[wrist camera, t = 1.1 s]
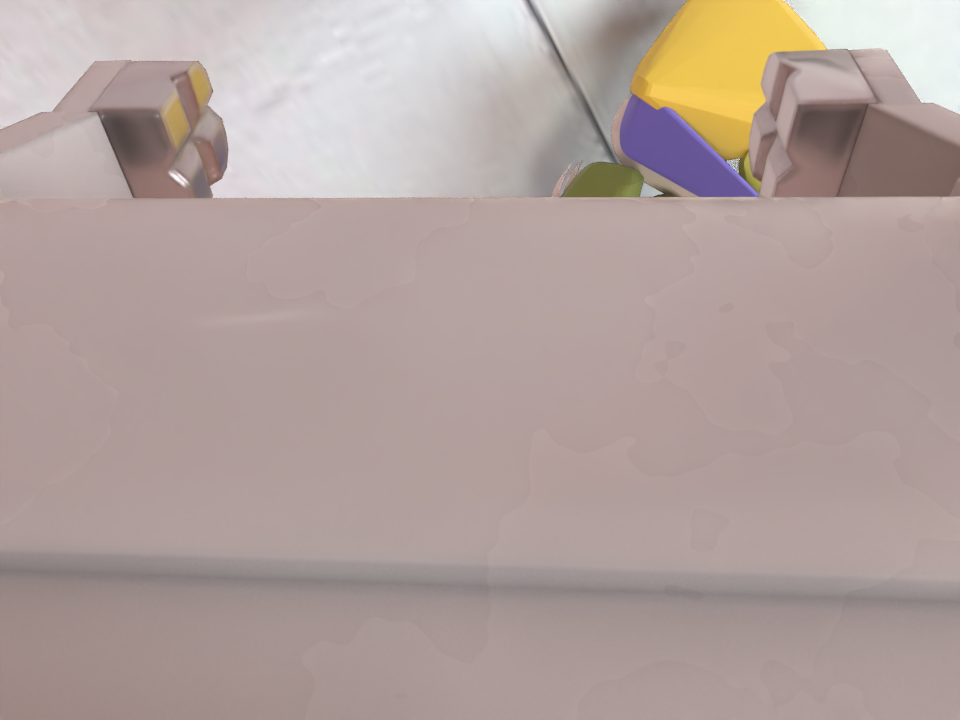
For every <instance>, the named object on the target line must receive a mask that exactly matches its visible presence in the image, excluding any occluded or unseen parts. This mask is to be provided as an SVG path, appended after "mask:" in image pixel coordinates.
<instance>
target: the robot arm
mask: <svg viewBox="0 0 960 720" xmlns="http://www.w3.org/2000/svg"><path fill="white" fill-rule="evenodd" d="M760 85H761V88H762V90H763V93H764V96H765V99H766V102H765V103H764V104H763V105H762V106H761V107H760V108H759V109H758V110H757V111H756V112H755V113H754V115H753V120H752V125H751V131H750V137H749V152H748V155H749V164H750V169H751V173H752V176H753V177H754V178H756V179H757V180H759V181H760V182H761V185H760V189H759V194H758V195H759V197H499V198H212V197H213V194H212V191H211V188H210V186H211V185H212V184H214V183H215V182H217V181H219V180H220V179H222V177H223V174H224V172H225V170H226V168H227V159H228V143H227V136H226V132H225V128H224V125H223V121H222V118H220V117H219V116H218V115H217V114H216V113H215V112H214V111H213V110H212V109H211V108H210V107H209V106H208V102H209V100H210V98H211V95H212V93H213V89H212V86H211V83H210V80H209V77H208V74H207V71H206V69H205V68H204V67H203V66H202V65H201V63H200V62H199V61H131V60H115V61H95V62H94V63H93V64H92V65H91V66H90V67H89V69H88V70H87V71H86V72H85V73H84V75H83V76H82V77H81V78H80V79H79V80H78V82H77V83H76V84H75V85H74V86H73V87H72V89H71V90H70V91H69V92H68V93H67V94H66V96H65V97H64V98H63V99H62V100H61V101H60V103H59V104H58V105H57V106H56V107H55V108H54V110H53V111H52V112H41V113H38V114H36V115H34V116H31V117H29V118H27V119H24V120H22V121H20V122H17V123H15V124H13V125H10V126H8V127H6V128H3V129H1V130H0V720H960V115H959V114H957V113H955V112H953V111H950V110H948V109H946V108H943V107H941V106H939V105H936V104H934V103H921V102H920V100H919V98H918V97H917V95H916V94H915V92H914V91H913V89H912V88H911V86H910V85H909V83H908V82H907V80H906V79H905V77H904V75H903V74H902V72H901V71H900V69H899V68H898V66H897V65H896V63H895V62H894V60H893V59H892V57H891V56H890V54H889V53H888V51H887V50H884V49H881V48H879V49H862V50H848V49H836V50H810V51H784V52H774V53H772V54H770V55H769V57H768V59H767V62H766V64H765V67H764V71H763V75H762V80H761V84H760Z"/></svg>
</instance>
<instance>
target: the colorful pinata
mask: <svg viewBox="0 0 960 720" xmlns="http://www.w3.org/2000/svg"><path fill="white" fill-rule="evenodd" d="M810 50H828V49H827V48H826V47H825V46H824V44H823V43H822V42H821V41H820V39H819V38H818V37H817V36H816V34H815V33H814V32H813V31H812V30H811V29H810V28H809V27H808V25H807V24H806V23H805V22H804V21H803V20H802V19H801V18H800V17H799V16H798V15H797V13H796V12H795V11H794V10H793V9H792V8H791V7H790V6H789V5H788V4H787V3H786V2H785V1H783V0H687V1H686V3H685V4H684V5H683V6H682V8H681V9H680V10H679V11H678V13H677V14H676V15H675V16H674V18H673V19H672V20H671V21H670V23H669V24H668V25H667V26H666V28H665V29H664V30H663V31H662V33H661V34H660V35H659V37H658V38H657V40H656V41H655V42H654V44H653V45H652V46H651V48H650V49H649V51H648V52H647V53H646V55H645V56H644V58H643V59H642V60H641V62H640V63H639V65H638V67H637V69H636V71H635V74H634V76H633V79H632V82H631V87H630V91H631V92H632V93H631V95H630V96H629V97H628V98H627V99H626V100H625V101H624V102H623V104H622V105H621V106H620V108H619V109H618V111H617V113H616V115H615V117H614V120H613V123H612V129H611V139H612V145H613V148H614V151H615V154H616V156H617V157H618V159H619V161H620V162H621V164H622V165H619V164H613V163H607V162H595V163H592V164H590V165H588V166H586V167H585V168H584V169H583V170H582V171H581V172H579V173H578V174H577V172H578V170H579V168H578V164H579V163H580V162H581V161H580V162H579V163H578V164H577V165H576V167H575V168H576V169H575V168H574V169H573V171H572V172H571V174H570V176H569V178H568V181H567V183H566V186H565V189H564V192H563V194H562V196H561V197H639V196H640V192H641V189H642V185H643V182H644V183H646V184H648V185H650V186H652V187H654V188H655V189H657V190H659V191H661V192H662V193H664V194H662V195H657V196H654V197H759V195H758V194H759V189H760V185H761V182H760V181H759V180H757V179H756V178H754V177H753V176H752V173H751V169H750V164H749V155H748V152H749V137H750V131H751V125H752V120H753V115H754V113H755V112H756V111H757V110H758V109H759V108H760V107H761V106H762V105H763V104H764V103H765V102H766V99H765V96H764V93H763V90H762V88H761V85H760V84H761V80H762V75H763V71H764V67H765V64H766V62H767V59H768V57H769V55H770V54H772V53H774V52H784V51H810ZM737 158H740V161H739V174H738V173H737V172H736V171H735V170H734V169H733V168H732V167H731V166H730V165H729V164H728V163H727V162H726V160H732V159H737ZM582 162H583V161H582ZM572 164H573V163H572ZM579 165H581V164H579ZM569 166H570V165H569ZM569 166H568V167H567V168H568V170H569ZM579 167H580V166H579ZM577 168H578V170H577ZM565 171H566V172H568V171H567V169H566V170H565ZM575 171H576V172H575ZM566 172H564V173H563V175H562V176H561V177H560V179H559V181H558V183H557V185H556V186H555V188H554V191H553V193H552V195H551V197H559V195H560V191H561V187H562V184H563V181H564V179H565V177H564V176H566V174H567V173H566ZM575 174H576V175H575ZM563 178H564V179H563ZM560 185H561V186H560ZM559 188H560V189H559Z"/></svg>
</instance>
